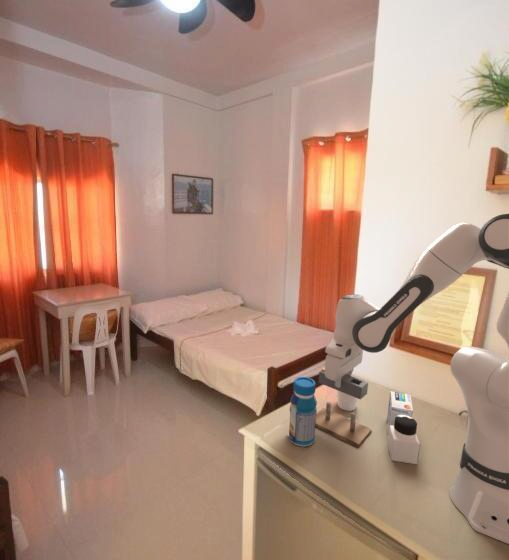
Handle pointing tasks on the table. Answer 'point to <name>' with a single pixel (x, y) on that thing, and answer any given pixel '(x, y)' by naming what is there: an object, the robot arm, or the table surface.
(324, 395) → the table surface
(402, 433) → the medicine bottle
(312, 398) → the beverage bottle
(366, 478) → the table surface
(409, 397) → the light bulb box
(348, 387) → the grey block with holes
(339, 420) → the board
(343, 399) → the white cup
